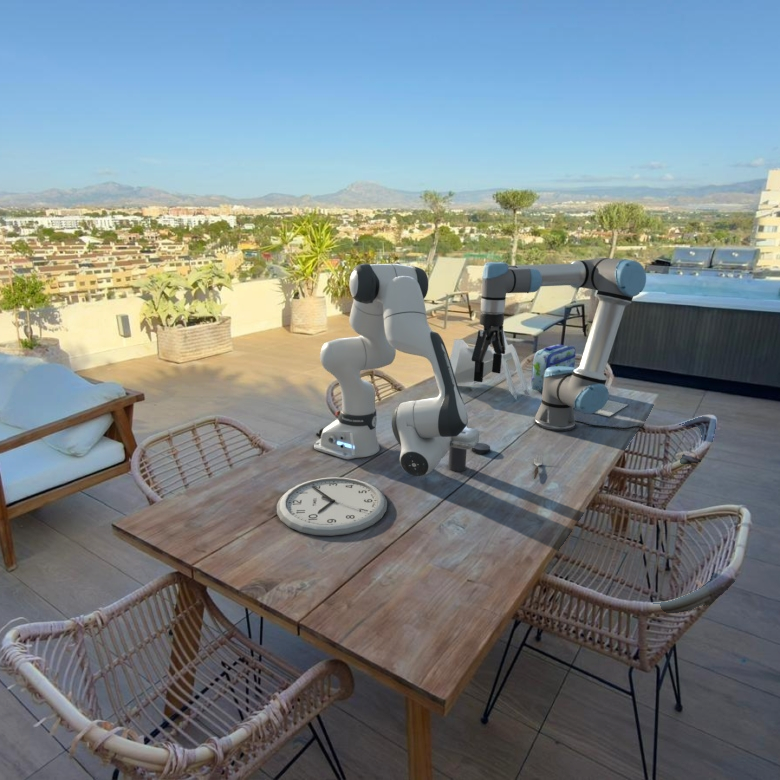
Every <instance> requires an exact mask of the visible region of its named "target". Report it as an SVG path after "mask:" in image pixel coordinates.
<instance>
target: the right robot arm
mask: <svg viewBox="0 0 780 780" xmlns="http://www.w3.org/2000/svg"><path fill="white" fill-rule="evenodd" d="M481 278H482V282H481V299H480V303H479V304H480V311H481V312H480V313H479V325H481V326H483V327H482V329H478V331H477V337H476V340H475V341H476V342H475V344H474V346H475V348H474V352H473V355H472V361H475V370H474V381H476V382H477V383H483V382H484V377H483V368H484V362H482V361H483V359H484V356H485V354H486V351H487V349H488V346H489V345H491V344H492V349H493V350H494V351H495V353H494V354H493V366H492V372H491V373H494V374H501V369H502V363H501V359H502V354H505V342H504V335H503V331H504V322H505V311H506V299H507V294H530V293H536V292H538V291H539V290H540V288H541V287H560V286H571V287H572V288H574V289H579V288H580V289H581V288H582V289H588V290H594V291H597V292H596V298H597V299H598V304H597V307H596V311H595V314H594V317H593V320H592V324H591V327H590V330H589V334H588V336H587V340H586V343H585V346H584V349H583V353H582V356H581V359H580V363H579V365H578V367H575V366H574V367H565V366H556V367H549V368H547V369H546V370H545V374H544V381H543V391H541V393H542V394H541V402H540V405H539V407H538V410H537V411H536V413H535V416H534V424H535V425H536V426H537V427H539V428H542V429H544V430H549V431H556V432H567V431H572V430H574V429H575V428H576V423H577V424H582V425H585V426H589V427H595V428H604V429H605V428H606V429H615V430H623V431H624V430H631V429H632V430H633V429H637V428H639V429H641V430H642V431H646V428H645V427H643V426H641V425H632V426H627V427H621V426H611V425H602V424H593V423H588V422H584V421H581V420H578V419H576V418H575V417H576V416H575V413H574V409H575V410H576V411H577V412H581V413H584V414H588V415H590V414H591V415H593V414H596V413H595V412H597V411H598V410H600V409H602V408H603V407H604V406H605V404H606V402H607V400H609V397H610V392H609V389H608V387H607V386H606V383H607V376H606V375H605V372H606V371H605V370H606V368H607V365H608V362H609V359H610V355H611V352H612V349H613V345H614V343H615V340H616V336H617V333H618V331H619V327H620V324H621V321H622V318H623V315H624V311H625V308H626V307H627V306H629V305H630V304H632V302H633V299H634V298H635V297H637V296H638V295H640V293H642V292H643V291H644V289H645V286H646V283H647V272H646V270H645V268H644V266H643V265H642V264H641V263H640V262H639V261H637V260H633V259H628V258H627V259H626V258H610V257H598V258H589V259H581V260H580V259H579V260H574V261H572V262H571V263H549V264H547V263H545V264H518V265H517V264H515V265H509V264H508V263H507V262H499V261H497V262H496V261H489V262H486V263H484V265H483V270H482V276H481Z"/></svg>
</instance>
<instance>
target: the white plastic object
mask: <svg viewBox="0 0 780 780" xmlns="http://www.w3.org/2000/svg"><path fill="white" fill-rule="evenodd" d="M503 335H504V342H505V354H502V359H501V368H502V370H503V373H504V376H505V380H506V383H507V386H508V390H509V393H510V394H511V395H512V397H513V398H514V399H515V400H517V392H516V391H517V390H516V388H515V385H514V381H513V378H512V375H511V371H510V369H509V365H508V361H510V360H513V363H514V366H515V369H516V372H517V376H518V380H519V382H520V385H521V389H522V391H523V393H524V395H525V396H526V397H528V396H531V395H530V390H529V388H528V387H529V386H528V384H527V381H526V378H525V375H524V371H523V369H522V368H523V367H522V366H521V362H520V359H519V355H518V352H517V349H516V347H515V346H514V345H513V343H511V344H508V341H507V337H506V334H505V331H504V330H503ZM490 345H491V344H490ZM490 345H489V346H488V349H487V351H486V354H485V356H484V359H483V361H482V362H484V368H483V378H485V377H486V376H487V375H489V374H490V373H493V372H492V366H493V354H494V353H495V351H494V349H493V347H491V346H490ZM474 348H475V345H473V346H469V345H468V343H466V342H465V340H464V339H463V338H460V339H458V338H454V340H453V344H452V349H451V353H450V356H449V359H450V362H451V366H452V369H453V372H454V376H455V379H456V382H457V385H458V384H467V383H468V384H469V383H473V384H477V383H478V382H476V381H474V370H475V361H472V355H473V352H474Z"/></svg>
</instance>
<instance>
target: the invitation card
mask: <svg viewBox="0 0 780 780" xmlns="http://www.w3.org/2000/svg"><path fill="white" fill-rule="evenodd" d="M628 406H629V404H627V403H623V402H618V401H614V400H609V399H608V400H607V402H606V404H605V406H604V407H603V408H602V409H600V410H598V411H597V412H595V413H594V414H596V415H600V416H604V417H608V418H609V417H611V416H613V415H614V414H616V413H617V412H619V411H621V410H623V409H624V408H626V407H628Z"/></svg>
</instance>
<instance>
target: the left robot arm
mask: <svg viewBox="0 0 780 780" xmlns="http://www.w3.org/2000/svg"><path fill="white" fill-rule="evenodd" d="M348 285H349V286H348V287H349V292H350V296H351V297H352V298H353V301H352V305H351V309H350V313H349V318H348V319H349V321H348V322H349V326H350V327H351V329H352V330H353V331H354V332H355V333H356V334H357V335H358V336H352V337H340V338H336V339H333V340H329V341H327V342H324V343H323V344H322V346H321V349H320V352H319V361H320V364H321V366H322V367H323V369H324V370H325V371H327V373H330V374H331V375H332V376H333V377H334V378H335V380H336V382H338V384H339V387H340V394H341V407H340V408H339V409H338V410H337V411H336V412H335V413H334V414H335V415H334V416H335V417H337V418H336V419H335V420H333V421H332V422H330V423H329V424H328V425H326V426H325V427H322V428H320V429H319V431H318V432H316V434H315V436H317V437H318V439H317V440H316V441H315V443H314V444H313V449H314V450H316V451H318V452H320V453H324V454H328V455H331V456H334V457H338V458H341V459H344V460H352V459H356V458H366V457H371V456H374V455H376V454H377V453H379V452H380V449H381V448H380V445H379V441H378V436H377V427H376V426H377V408H376V390H375V387H374V385H373V384H372V383H371V382H369V381H368V380H365V379H363V378H362V377H361V371H369V370H376V369H381V368H384V367H386V366H389V365H392V364H393V362H394V361H395V358H396V355H397V351H398V352H401V353H404V354H408V355H412V356H416V357H417V356H418V357H421V358H424V359H426V360H428V361H429V363H430V365H431V367H432V371H433V375H434V378H435V381H436V385H437V389H438V392H439V393H438V395H437V396H435V397H429V398H424V399H414V400H409V401H403V402H400V403H399V404H398V405H397V406H396V408H395V409H394V412H393V414H392V417H391V430H392V433H393V436H394V438H395V440H396V442H397V443H398V445H399V446H400V454H399V464H400V466H401V468H402V470H403V471H404V472H405V473H407V474H408V475H410V476H412V477H424V476H427V475H428V474H430V473H431V472H432V471H434V470H435V468H436V467H437V466H438V465H439V464H440V463H441V460H442V459H443V458H444V457H445V456H446V454H447V453H449V449H450V448H451V447H454V448H460V449H467V450H472V448H473V447H474V446H475V445H476V444H477V443H479V441H480V431H479V430H478V429H477V428H471V427H469V425H468V422H469V415H468V411H467V408H466V405H465V402H464V399H463V398H462V394H461V392H460V390H459V386H458V384H457V382H456V379H455V376H454V372H453V369H452V366H451V362H450V356H449V353H448V350H447V347H446V345H445V342H444V340H443V337H442V336H441V335H440V333H438V332H437V331H433V329H432V328H431V326H430V324H429V322H428V316H427V309H426V303H425V299H426V298H427V295H428V292H429V277H428V274H427V273H426V271H425V270H424V269H423V268H421V267H418V266H415V265H405V264H397V263H373V264H370V263H362V264H357V265H355V266H354V268H353V269H352V270H351V273H350V276H349V282H348ZM319 437H320V438H319Z"/></svg>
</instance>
